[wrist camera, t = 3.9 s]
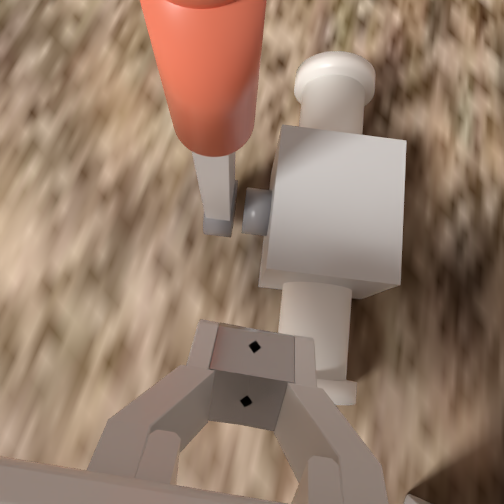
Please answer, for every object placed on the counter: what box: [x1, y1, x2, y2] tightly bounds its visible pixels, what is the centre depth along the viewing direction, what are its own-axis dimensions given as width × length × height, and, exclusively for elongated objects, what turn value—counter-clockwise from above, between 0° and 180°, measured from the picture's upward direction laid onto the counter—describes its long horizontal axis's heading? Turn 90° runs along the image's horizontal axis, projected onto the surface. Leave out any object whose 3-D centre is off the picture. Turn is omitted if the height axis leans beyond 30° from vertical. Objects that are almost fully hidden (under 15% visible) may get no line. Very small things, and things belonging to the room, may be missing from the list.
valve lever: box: [140, 0, 266, 237], centre depth 15 cm, size 3×3×18 cm
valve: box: [242, 51, 406, 405], centre depth 23 cm, size 18×7×6 cm, turn 173°
